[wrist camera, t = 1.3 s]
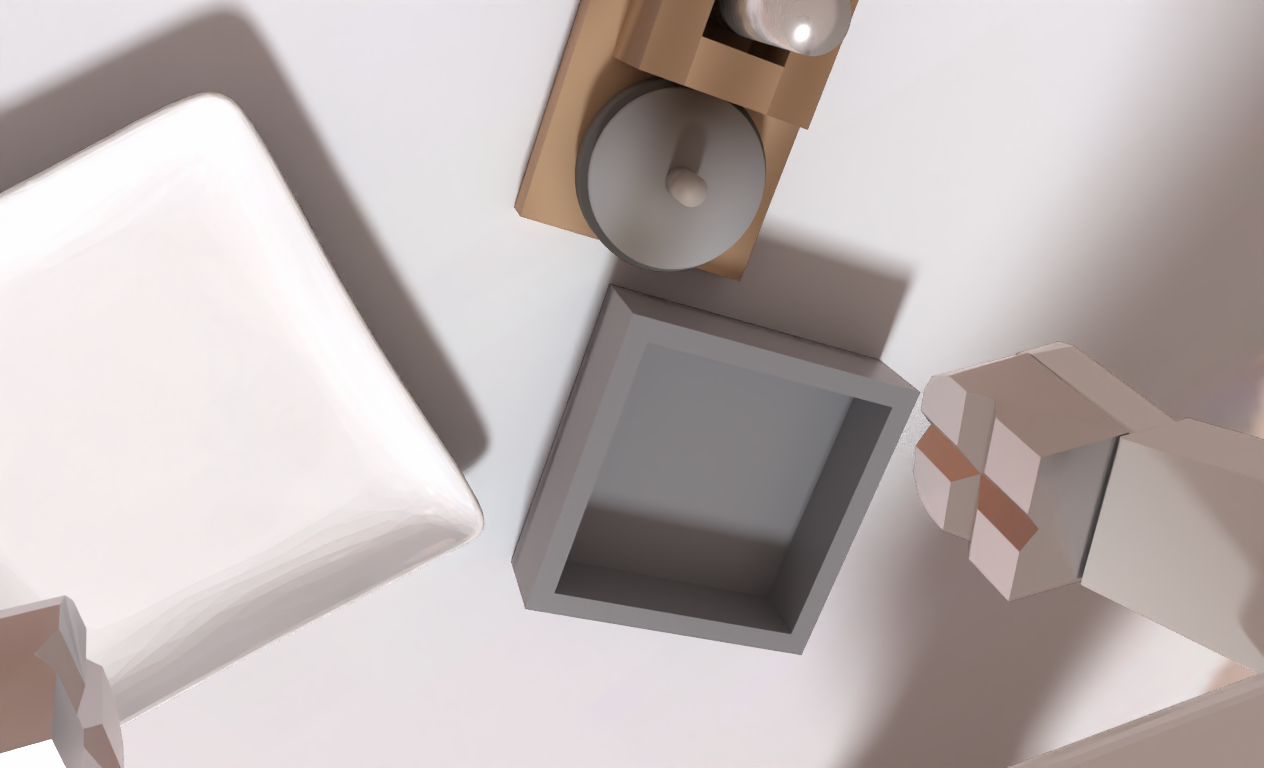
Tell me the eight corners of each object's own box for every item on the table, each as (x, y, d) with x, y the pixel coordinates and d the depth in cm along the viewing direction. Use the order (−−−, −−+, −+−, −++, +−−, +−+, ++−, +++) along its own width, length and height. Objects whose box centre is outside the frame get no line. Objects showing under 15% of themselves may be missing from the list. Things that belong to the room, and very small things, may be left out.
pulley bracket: (851, -49, 46) (916, -44, 41) (725, 277, 50) (770, 317, 45) (627, -145, 42) (668, -152, 38) (511, 214, 46) (535, 250, 42)
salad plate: (229, 64, 42) (222, 77, 39) (486, 497, 52) (497, 535, 48) (-301, 327, 41) (-351, 361, 38) (63, 720, 50) (46, 772, 47)
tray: (880, 359, 54) (920, 392, 50) (771, 608, 58) (801, 655, 54) (609, 284, 49) (633, 313, 45) (511, 561, 53) (525, 608, 49)
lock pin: (762, -23, 44) (862, -8, 36) (740, 38, 45) (833, 66, 37) (708, -45, 43) (798, -35, 35) (685, 17, 44) (769, 41, 36)
